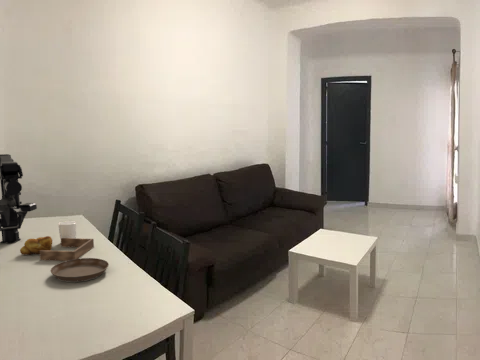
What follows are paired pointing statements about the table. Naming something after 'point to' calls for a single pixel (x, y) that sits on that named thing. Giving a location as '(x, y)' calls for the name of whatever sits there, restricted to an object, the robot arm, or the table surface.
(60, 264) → the plant saucer
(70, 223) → the white cup
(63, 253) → the box
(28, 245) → the bread roll
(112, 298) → the table surface
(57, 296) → the table surface
